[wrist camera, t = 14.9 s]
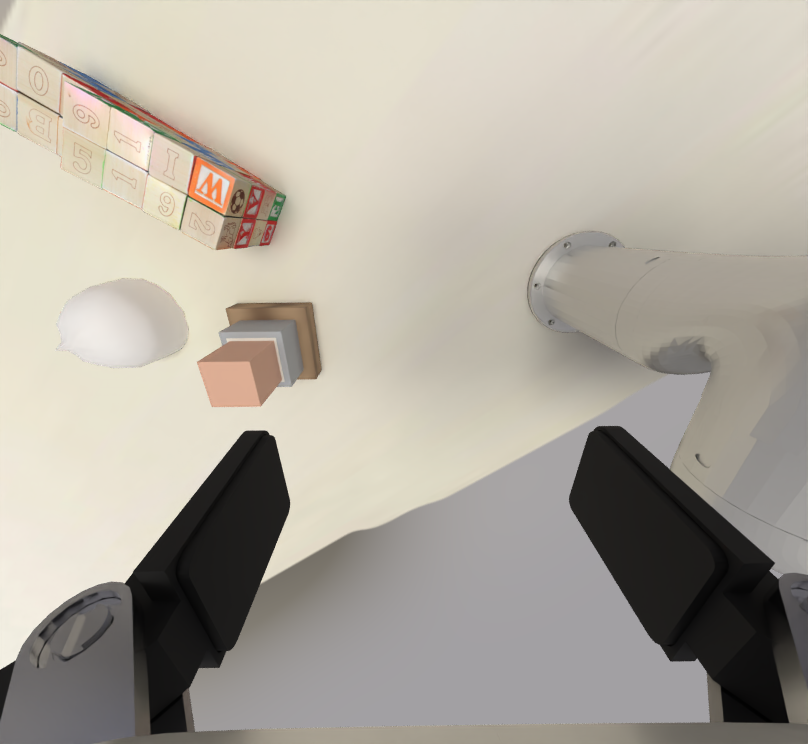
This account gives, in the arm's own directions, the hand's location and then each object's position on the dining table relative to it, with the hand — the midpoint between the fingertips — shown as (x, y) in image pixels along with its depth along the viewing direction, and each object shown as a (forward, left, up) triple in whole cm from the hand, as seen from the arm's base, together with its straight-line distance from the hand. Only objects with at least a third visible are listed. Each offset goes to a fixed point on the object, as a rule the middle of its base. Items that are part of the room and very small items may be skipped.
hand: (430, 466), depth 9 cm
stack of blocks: (+25, -13, -34) cm, 44 cm away
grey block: (+18, +7, -30) cm, 36 cm away
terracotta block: (+18, +7, -25) cm, 32 cm away
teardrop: (+36, +4, -34) cm, 49 cm away
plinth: (+18, +7, -33) cm, 38 cm away
